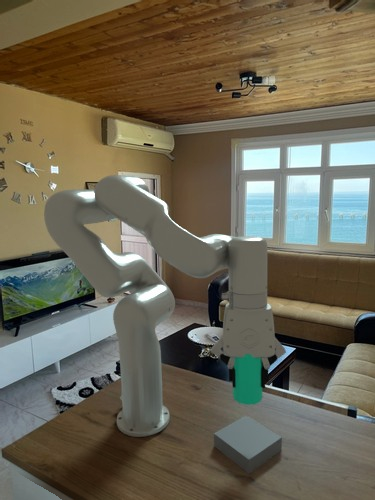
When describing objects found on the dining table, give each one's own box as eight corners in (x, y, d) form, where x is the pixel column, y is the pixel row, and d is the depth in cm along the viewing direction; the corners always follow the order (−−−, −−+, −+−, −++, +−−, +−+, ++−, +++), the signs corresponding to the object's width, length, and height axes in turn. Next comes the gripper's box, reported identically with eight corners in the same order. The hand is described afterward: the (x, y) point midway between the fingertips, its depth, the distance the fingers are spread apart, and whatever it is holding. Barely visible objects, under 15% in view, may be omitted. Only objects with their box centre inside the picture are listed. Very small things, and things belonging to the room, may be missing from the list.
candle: (262, 406, 71) (262, 348, 69) (231, 403, 72) (231, 346, 70) (262, 390, 77) (262, 336, 75) (234, 387, 78) (233, 335, 76)
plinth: (214, 446, 77) (213, 433, 77) (246, 427, 83) (246, 415, 83) (249, 473, 69) (249, 459, 69) (281, 450, 76) (281, 437, 75)
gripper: (204, 304, 68) (206, 393, 71) (295, 304, 67) (294, 395, 70) (205, 294, 76) (207, 374, 79) (288, 293, 74) (287, 375, 77)
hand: (248, 383), depth 74 cm, fingers closed on candle, 5 cm apart
